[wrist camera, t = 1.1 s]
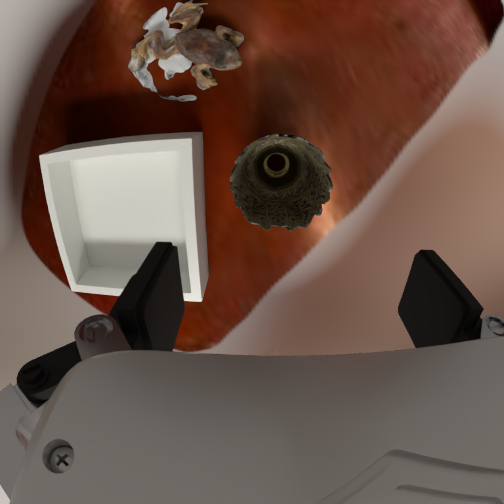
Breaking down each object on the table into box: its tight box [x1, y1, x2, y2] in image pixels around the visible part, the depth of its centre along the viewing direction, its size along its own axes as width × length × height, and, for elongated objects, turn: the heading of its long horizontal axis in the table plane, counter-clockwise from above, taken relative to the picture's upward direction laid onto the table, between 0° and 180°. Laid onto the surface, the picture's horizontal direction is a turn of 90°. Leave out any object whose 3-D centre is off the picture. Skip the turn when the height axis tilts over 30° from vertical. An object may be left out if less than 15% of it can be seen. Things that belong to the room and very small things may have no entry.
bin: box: [39, 132, 209, 302], centre depth 28 cm, size 16×16×5 cm
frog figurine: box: [128, 0, 244, 102], centre depth 21 cm, size 12×12×4 cm
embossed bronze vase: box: [230, 134, 333, 231], centre depth 24 cm, size 8×7×8 cm
